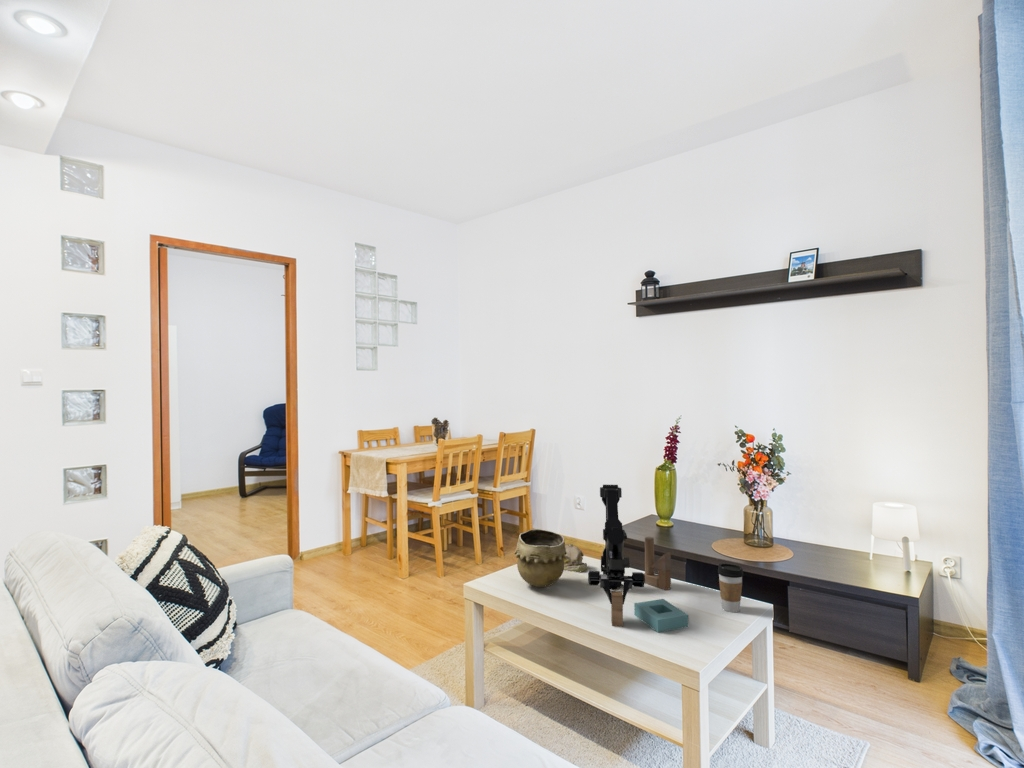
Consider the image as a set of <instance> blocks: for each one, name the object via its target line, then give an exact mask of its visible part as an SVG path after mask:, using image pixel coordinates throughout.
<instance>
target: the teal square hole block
mask: <svg viewBox="0 0 1024 768" xmlns="http://www.w3.org/2000/svg"><path fill="white" fill-rule="evenodd" d="M633 603H634V604H633V605H634V606H633V607H634V608H633V609H634V611H633V612H634V616H635V617H636V618H637V619H639V620H640V621H642V622H643V623H644V624H646V625H647V626H649V627H650V628H651V629H653V630H654V631H655V632H656V633H662V632H668V631H674V630H679V629H685V628H689V614H688V613H687V612H685V611H683V610H682V609H680V608H678V607H677V606H675V605H674V604H672V603H670V602H669V601H667V600H666V599H664V598H661V599H660V598H659V599H653V600H647V601H642V602H633Z"/></svg>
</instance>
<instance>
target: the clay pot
mask: <svg viewBox="0 0 1024 768" xmlns="http://www.w3.org/2000/svg"><path fill="white" fill-rule="evenodd" d="M565 545H566V544H565V539H564V536H563V535H562V534H560V533H558V532H554V531H552V530H551V531H550V530H546V529H542V528H538V529H535V528H533V529H530V530H527V531H525V532H521V533H519V536H518V539H517V544H516V548H515V551H514V552H513V553H514V555H515V558H516V559H517V562H516V565H517V570H518V573H519V575H520V577H521V578H522V580H523V581H524V582H526V583H527V584H529V585H530V586H534V587H537V588H544V587H545V588H546V587H549V586H551V585H553V584H555V582H557V581H558V580H559V579H560V578H561V576H562V575H563V572H564V571H565V570H564V558H565V557H566V556H565V555H566V554H567V552H566V548H565Z"/></svg>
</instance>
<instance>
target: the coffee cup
mask: <svg viewBox="0 0 1024 768" xmlns="http://www.w3.org/2000/svg"><path fill="white" fill-rule="evenodd" d="M743 570H744V569H743V567H742V566H740V565H738V564H732V563H719V564H718V569H717V573H718V577H719V578H718V582H719V583H718V584H719V593H720V603H721V609H722V610H723V609H724V611H725V610H726V612H728V611H730V613H738V612H740V611H739V610H741V601H742V589H743V577H744V571H743Z"/></svg>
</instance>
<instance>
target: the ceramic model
mask: <svg viewBox="0 0 1024 768" xmlns="http://www.w3.org/2000/svg"><path fill="white" fill-rule="evenodd" d="M565 548H566V552H567V554H566V555H565V556H566V557H565V558H564V570H563V571H566V570H568V571H567V572H572V571H576V572H575V573H581V572H580V571H582V572H585V571H586V570H587V568H588V564H587V562H583V560H584V552H583V551H582V550H581V549H580V548H578V546H574V544H573V543H569V545H568V544H565Z"/></svg>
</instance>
